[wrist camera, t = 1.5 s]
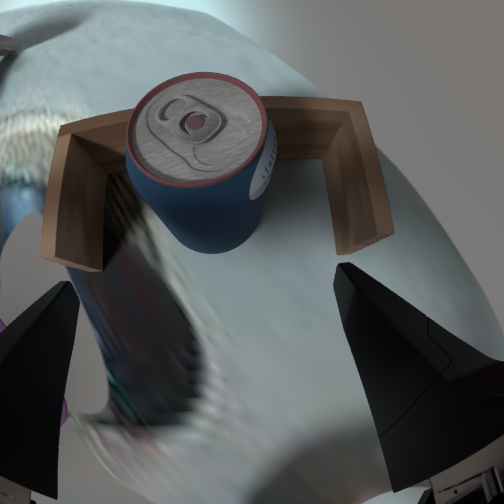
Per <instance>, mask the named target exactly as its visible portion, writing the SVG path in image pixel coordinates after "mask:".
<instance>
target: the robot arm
mask: <svg viewBox="0 0 504 504" xmlns="http://www.w3.org/2000/svg"><path fill="white" fill-rule="evenodd" d="M333 287H334V292H335V296H336V300H337V304H338V308H339V313H340V317H341V321H342V325H343V329H344V332H345V335H346V338H347V340H348V343H349V346H350V349H351V352H352V355H353V357H354V360H355V363H356V366H357V369H358V372H359V375H360V378H361V381H362V384H363V387H364V390H365V394H366V397H367V400H368V403H369V406H370V410H371V413H372V416H373V419H374V423H375V426H376V429H377V433H378V436H379V438H380V439H379V440H380V444H381V447H382V451H383V455H384V458H385V462H386V466H387V470H388V473H389V477H390V481H391V485H392V489H393V492H394V493H395V492H398V491H401V490H403V489H406V488H408V487H410V486H413V485H415V484H417V483H420V482H422V481H424V480H426V479H428V478H429V480H430V484H431V487H432V488H430V489H428V490H426V491H424V493H423V495H422V496H421V498H420V500H419V502H418V504H504V361H498V360H495V359H492V358H490V357H488V356H486V355H484V354H483V353H481V352H480V351H478V350H477V349H475V348H474V347H472V346H470V345H469V344H467V343H466V342H464V341H462V340H461V339H459V338H458V337H456V336H455V335H453V334H452V333H450V332H449V331H447V330H446V329H444V328H443V327H442V326H440V325H439V324H437V323H436V322H435V321H433V320H432V319H430V318H429V317H427V316H426V315H425V314H424V313H422V312H421V311H419V310H418V309H417V308H415V307H414V306H412V305H411V304H410V303H408V302H407V301H405V300H404V299H403V298H401V297H400V296H398V295H397V294H396V293H394V292H393V291H391V290H390V289H388V288H387V287H386V286H384V285H383V284H381V283H380V282H378V281H377V280H375V279H374V278H373V277H371V276H370V275H368V274H367V273H365V272H364V271H362V270H361V269H359V268H358V267H356V266H355V265H353V264H352V263H350V262H345V263H339V264H338V265H337V268H336V273H335V278H334V283H333ZM79 306H80V301H79V297H78V295H77V293H76V291H75V289H74V287H73V285H72V283H71V282H70V281H60V282H59V283H58V284H56V285H55V286H54V287H52V288H51V289H50V290H49V291H47V292H46V293H45V294H44V295H43V296H42V297H40V298H39V299H38V300H37V301H35V302H34V303H33V304H32V305H31V306H30V307H29V308H27V309H26V310H25V311H24V312H23V313H22V314H20V315H19V316H18V317H17V318H16V319H15V320H14V321H13V322H12V323H10V324H9V325H8V326H7V327H6V328H5V329H4V330H3V331H2V332H1V333H0V504H36V502H35V501H33V500H31V491H35V492H37V493H40V494H42V495H45V496H47V497H50V498H53V499H56V500H57V498H58V453H59V452H58V451H59V448H58V447H59V437H60V426H61V417H62V408H63V401H64V394H65V388H66V381H67V376H68V370H69V365H70V360H71V355H72V350H73V345H74V340H75V332H76V326H77V318H78V313H79Z"/></svg>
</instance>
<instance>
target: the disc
mask: <svg viewBox="0 0 504 504" xmlns="http://www.w3.org/2000/svg"><path fill="white" fill-rule="evenodd" d="M21 47H22V45H21V43H20V42H18V41H17V40H15V39H13V38H11V37H7V36H4V35H0V57H1V56H6V55H9V54H14V53H16V52H17V51H19V50H20V49H21Z"/></svg>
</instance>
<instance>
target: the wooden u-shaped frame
mask: <svg viewBox="0 0 504 504" xmlns="http://www.w3.org/2000/svg"><path fill="white" fill-rule="evenodd" d="M259 97H260V99H261V100H262V102H263V104H264V107H265V110H266V113H267V115H268V116H269V118H270V120H271V122H272V124H273V127H274V130H275V134H276V139H277V153H276V159H322V163H323V168H324V173H325V179H326V185H327V190H328V196H329V203H330V209H331V215H332V222H333V229H334V236H335V244H336V252H337V255H345V254H352V253H354V252H356V251H359V250H361V249H363V248H365V247H367V246H369V245H371V244H373V243H376V242H378V241H380V240H382V239H384V238H386V237H388V236H390V235H392V234H394V227H393V222H392V216H391V211H390V206H389V201H388V196H387V192H386V187H385V183H384V179H383V174H382V170H381V166H380V162H379V159H378V155H377V151H376V148H375V144H374V141H373V137H372V134H371V130H370V127H369V124H368V121H367V118H366V115H365V111H364V108H363V106H362V103H361V102H359V101H350V100H340V99H327V98H312V97H284V96H259ZM134 109H135V108H133V109H128V110H123V111H118V112H113V113H108V114H104V115H99V116H95V117H91V118H87V119H83V120H79V121H75V122H71V123H68V124H64V125H61V126H60V129H59V133H58V137H57V141H56V146H55V150H54V155H53V159H52V164H51V169H50V175H49V180H48V187H47V193H46V200H45V208H44V216H43V227H42V239H41V257H40V258H42V259H45V260H49V261H52V262H56V263H59V264H63V265H66V266H70V267H74V268H77V269H81V270H85V271H89V272H97V271H103V227H104V209H105V196H106V185H107V175H108V174H114V173H121V172H128V171H127V167H126V148H127V142H126V131H127V125H128V122H129V119H130V116H131V114H132V112H133V110H134Z"/></svg>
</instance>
